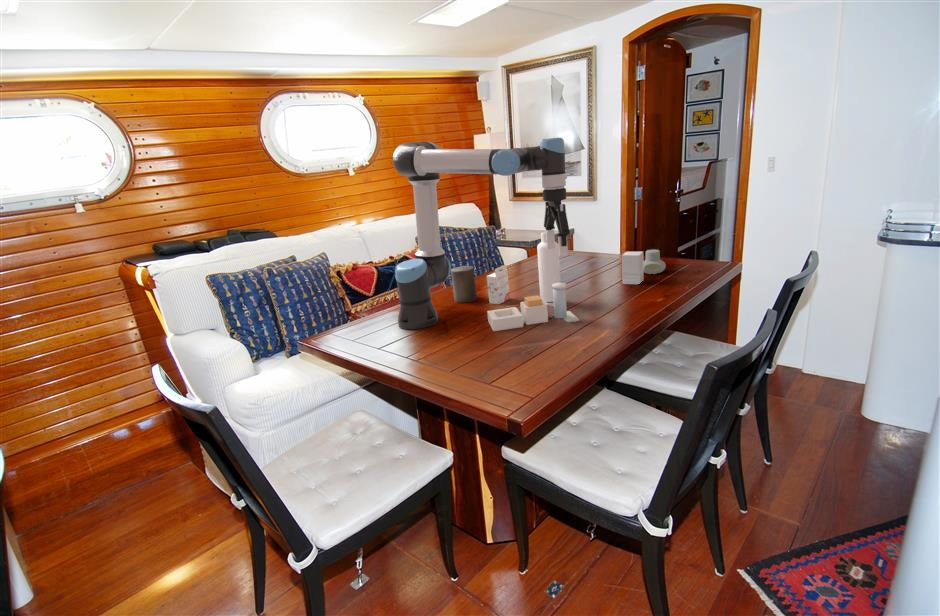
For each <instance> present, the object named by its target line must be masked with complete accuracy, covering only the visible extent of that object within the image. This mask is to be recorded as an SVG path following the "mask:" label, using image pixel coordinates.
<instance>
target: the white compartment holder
mask: <svg viewBox="0 0 940 616" xmlns="http://www.w3.org/2000/svg"><path fill="white" fill-rule="evenodd" d="M519 304H520V310H519V309H518V308H517V307H516V306H514V307H513V306H512V307H506V308H500V309H492V310H487V311H486V312H487V313H486V314H487V320H488V321H487V322H488V324H489V325H490V327H491V329H492V331H493V332H498V331H504V330H510V329H511V330H512V329H517V328H518V329H519V328H524V324H526V325H527V326H528V325H535V324H541V323H542V324H543V323H549V315H548V314H549V312H548V305H547V304H546V303H545V302H543V301H542V305H538V306H531V307H527V306H526V305H525V300H524V301H520V302H519Z"/></svg>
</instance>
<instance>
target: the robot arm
mask: <svg viewBox="0 0 940 616" xmlns="http://www.w3.org/2000/svg"><path fill="white" fill-rule="evenodd" d="M565 150H566V149H565V141H564V138H563V137H551V138H544V139H541V140H540V144H539V145H537V146H530V147H515V148H514V147H513V148H497V149H496V148H494V149H493V148H481V149H480V148H479V149H478V148H471V149H470V148H440V147H439V146H438V145H437V144H435V143H433V142H430V141H414V142H409V141H408V142H404V143H401V144H398V146H397V147H396V148H395V149H394V151H393V155H392V165H393V168H394V169H395V171H396V172H397V173H398V174H399V175H401V176H403V177H404V178H405V177H406V178H407V179H408V180H407V181H408V183H409V184H411V185H412V188H413V201H414V213H415V224H416V235H417V246H418V249H417V250H416V252H415V253H414V256H415V257H414V258H412V259H410V258H409V259H408V260H404V261H402V262H400V263H398V264H397V265H396V266H395V269H394V270H395V276H394V277H395V281H396V286H397V294H398V300H399V304H400V305H399V311H398V312H399V313H398V318H397V324H398V327H399V328H401V329H403V330H420V329H425V328H428V327H431V326H433V325H436V324H437V323H438V322H439V316H438V312H437V310H436V308H435V305H434V304H433V302H432V298H431V291H430V290H431V289H434V288H435V287H437V286H440V285H441V284H443V283H444V282H445V281H446V280H448V278H449V277H450V276H451V269H452V266H451V261H450V259H448V257H447V256H446V251H445V250H444V249H443V248H442V247H441V234H440V233H441V232H440V222H439V219H440V218H439V205H438V194H437V193H438V192H437V183H439V182H440V180H441V176H440V174H471V175H472V174H473V175H477V174H478V175H499V176H503V177H505V176H506V177H507V176H512V175H515V174H518V173H519V174H520V173H524V172H525V173H526V172H533V171H534V172H535V171H541V184H542V186H541V187H542V188H543V190H542V199H543V200H542V201H544V202H545V205H544V206H545V208H544V209H545V211H544V220H543V227H544V228H545V232H546V238H547V249H552V248H555V242H556V240H555V229H556V228H557V232H558V234H557V238H558V240H557V241H558V245H559V257H565V256H569V252H568V250H569V249H568V247H569V246H568V236H569V235H571V232H570V227H569V222H568V216H567V210H566V204H565V203H562V201H564V200H566V199H567V188H566V187H565V186H566V183H567V182H566V180H567V179H568V177H567V175H566V151H565ZM555 225H556V227H555Z"/></svg>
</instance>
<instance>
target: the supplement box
mask: <svg viewBox="0 0 940 616" xmlns="http://www.w3.org/2000/svg"><path fill="white" fill-rule="evenodd" d="M621 271H622V272H621V275H622V278H621V279H622V284H623V285H638V284H640V283H641V282H642V281H643V282H644V251H625V252H624V253H623V254H622V255H621ZM643 282H642V283H643ZM642 283H641V284H642ZM641 284H640V285H641Z"/></svg>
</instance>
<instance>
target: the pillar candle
mask: <svg viewBox="0 0 940 616" xmlns="http://www.w3.org/2000/svg"><path fill="white" fill-rule="evenodd" d="M450 276H451V281H452V290H453V291H452V292H453V298H454V302H456V303H463V304H464V303H470V302H474V301H476V300H477V299H478V295H477V286H476V280H475V279H476V278H475V270H474V266H471V265H461V266H458V267H453V268H451V272H450Z"/></svg>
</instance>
